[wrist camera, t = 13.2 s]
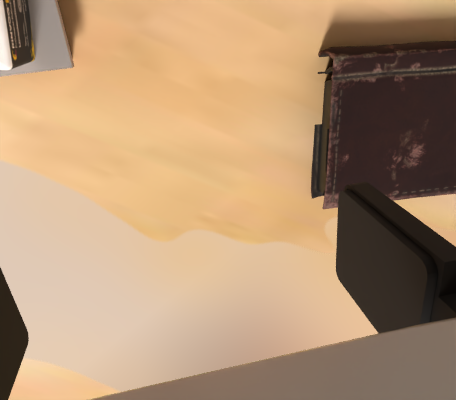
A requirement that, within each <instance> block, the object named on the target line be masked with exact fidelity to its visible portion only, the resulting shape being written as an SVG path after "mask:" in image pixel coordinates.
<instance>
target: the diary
mask: <svg viewBox="0 0 456 400" xmlns="http://www.w3.org/2000/svg"><path fill="white" fill-rule="evenodd" d="M318 55H319V57H326V56H329V57H331V58H332V59H333V67H330V68H328V69H327V70H326V72H318V74H322V73H325V74H332V77H331V78H332V80H328V81H325V88H324V103H323V118H322V124H320V125H315V132H314V147H313V162H312V179H311V194H312V198H315V197H318V196H324V204H323V209H329V208H337V207H338V197H339V193H340V191H344V188H345V186H346V185H350V184H356V183H362V182H368V183H369V184H371V185H372V186H373V187H375V188H376V189H377V190H379V191H380V192H382V193H383V194H384V195H386V196H387V197H388V198H390V199H391V200H392V201H393V200H400V199H408V198H416V197H426V196H437V195H447V194H456V41H440V42H420V43H408V44H395V45H383V46H357V47H331V48H328V49H326V50H323V51H321V52H319V54H318Z"/></svg>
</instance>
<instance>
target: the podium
mask: <svg viewBox="0 0 456 400" xmlns="http://www.w3.org/2000/svg"><path fill="white" fill-rule="evenodd" d="M28 5H29V14H30V22H31V30H32V38H33V46H34V54H35V60H34V61H32V62H29V63H27V64H24V65H21V66H19V67H16V68H13V69H11V70H0V77H1V76H9V75H17V74H25V73H33V72H41V71H49V70H57V69H66V68H73V67H74V63H73V60H72V54H71V51H70V47H69V43H68V39H67V35H66V31H65V27H64V24H63V20H62V16H61V12H60V8H59V4H58V1H57V0H28Z"/></svg>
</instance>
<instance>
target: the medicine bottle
mask: <svg viewBox="0 0 456 400" xmlns="http://www.w3.org/2000/svg"><path fill="white" fill-rule="evenodd" d="M34 60H35V54H34V46H33V38H32V30H31V22H30V14H29V5H28V0H0V70H11V69H13V68H16V67H19V66H21V65H24V64H27V63H29V62H32V61H34Z"/></svg>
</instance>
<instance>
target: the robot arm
mask: <svg viewBox="0 0 456 400" xmlns="http://www.w3.org/2000/svg"><path fill="white" fill-rule="evenodd" d="M337 227H338V228H337V251H336V272H337V276H338V279H339V280H340V282H341V283H342V285H343V286H344V287H345V289H346V290H347V291H348V292H349V294H350V295H351V297H352V298H353V299H354V301H355V302H356V304H357V305H358V306H359V307H360V309H361V310H362V312H363V313H364V314H365V316H366V317H367V318H368V320H369V321H370V322H371V324H372V325H373V326H374V328H375V329H376V330H377V332H378V333H379V334H375V335H370V336H366V337H362V338H357V339H352V340H348V341H343V342H339V343H335V344H330V345H325V346H321V347H317V348H312V349H308V350H303V351H299V352H295V353H290V354H286V355H281V356H277V357H273V358H268V359H264V360H259V361H255V362H251V363H246V364H242V365H238V366H233V367H229V368H225V369H220V370H216V371H211V372H207V373H203V374H198V375H194V376H189V377H186V378H181V379H176V380H172V381H168V382H163V383H159V384H155V385H150V386H146V387H142V388H137V389H132V390H128V391H124V392H119V393H115V394H110V395H106V396H102V397H97V398H93V399H88V400H456V247H455V246H454V245H452V244H451V243H449V242H448V241H447V240H446V239H444V238H443V237H441V236H440V235H438V234H437V233H436V232H434V231H433V230H432V229H431V228H429V227H428V226H427V225H425V224H424V223H422V222H421V221H420V220H418V219H417V218H416V217H414V216H413V215H412V214H410V213H409V212H407V211H406V210H405V209H403V208H402V207H401V206H399V205H398V204H397V203H395V202H394V201H392V200H391V199H390V198H388V197H387V196H386V195H384V194H383V193H382V192H380V191H379V190H377V189H376V188H375V187H373V186H372V185H371V184H369V183H368V182H362V183H356V184H350V185H346V186H345V188H344V191H340V193H339V197H338V226H337ZM27 345H28V332H27V329H26V326H25V324H24V322H23V319H22V317H21V315H20V312H19V310H18V308H17V305H16V303H15V301H14V298H13V296H12V294H11V291H10V289H9V287H8V284H7V282H6V280H5V277H4V275H3V273H2V270H1V268H0V400H8V398H9V396H10V393H11V390H12V387H13V384H14V382H15V379H16V376H17V373H18V370H19V368H20V365H21V362H22V359H23V357H24V354H25V351H26V348H27Z"/></svg>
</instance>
